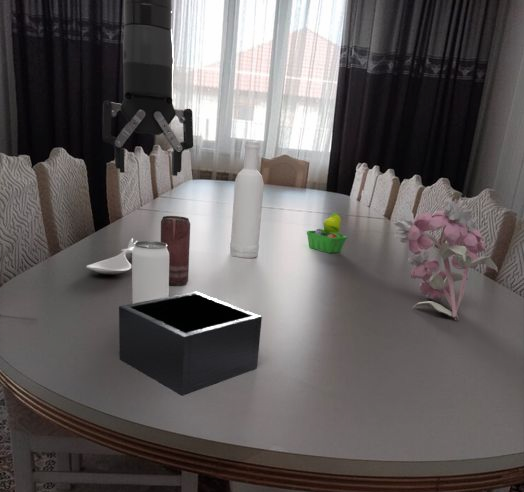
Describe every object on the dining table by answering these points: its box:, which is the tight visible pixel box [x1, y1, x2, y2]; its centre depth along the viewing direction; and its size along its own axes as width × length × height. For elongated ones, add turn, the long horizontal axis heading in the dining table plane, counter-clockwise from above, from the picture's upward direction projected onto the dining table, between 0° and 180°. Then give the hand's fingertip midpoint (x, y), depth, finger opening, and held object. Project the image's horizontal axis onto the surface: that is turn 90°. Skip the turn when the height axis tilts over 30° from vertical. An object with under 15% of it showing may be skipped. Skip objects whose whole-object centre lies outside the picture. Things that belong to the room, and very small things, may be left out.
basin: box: [118, 291, 263, 396], centre depth 73 cm, size 14×14×8 cm
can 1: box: [131, 240, 170, 304], centre depth 93 cm, size 6×6×12 cm
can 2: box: [160, 215, 191, 287], centre depth 111 cm, size 6×6×14 cm
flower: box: [392, 195, 499, 323], centre depth 111 cm, size 20×22×25 cm
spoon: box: [85, 237, 138, 275], centre depth 124 cm, size 9×32×4 cm, turn 173°
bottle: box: [229, 139, 265, 259], centre depth 140 cm, size 8×8×30 cm
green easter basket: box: [305, 212, 348, 254], centre depth 162 cm, size 11×9×11 cm
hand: (148, 173), depth 86 cm, fingers open, 8 cm apart
